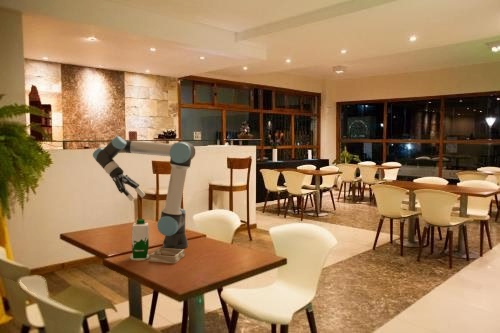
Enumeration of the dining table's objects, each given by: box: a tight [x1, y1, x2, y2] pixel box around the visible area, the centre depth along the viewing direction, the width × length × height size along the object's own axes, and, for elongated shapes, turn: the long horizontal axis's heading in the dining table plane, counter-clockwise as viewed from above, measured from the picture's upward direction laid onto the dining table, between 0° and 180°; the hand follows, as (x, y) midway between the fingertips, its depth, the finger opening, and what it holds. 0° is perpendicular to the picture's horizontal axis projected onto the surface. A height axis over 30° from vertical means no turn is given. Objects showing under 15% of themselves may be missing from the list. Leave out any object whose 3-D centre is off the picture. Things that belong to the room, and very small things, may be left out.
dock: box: [148, 247, 186, 264], centre depth 212 cm, size 15×15×4 cm
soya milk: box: [131, 218, 150, 258], centre depth 212 cm, size 9×9×20 cm
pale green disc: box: [129, 253, 150, 262], centre depth 212 cm, size 11×11×1 cm
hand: (138, 197), depth 220 cm, fingers open, 13 cm apart
